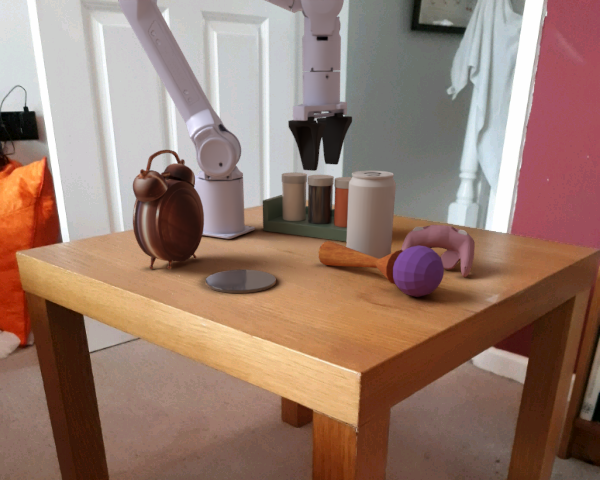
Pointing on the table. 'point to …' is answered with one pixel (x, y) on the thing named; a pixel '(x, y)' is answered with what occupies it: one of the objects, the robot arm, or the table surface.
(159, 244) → the alarm clock
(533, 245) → the table surface
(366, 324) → the table surface
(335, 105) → the robot arm
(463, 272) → the video game controller
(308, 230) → the spice rack
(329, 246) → the kendama
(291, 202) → the salt shaker
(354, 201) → the beverage can
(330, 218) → the pepper shaker
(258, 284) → the coaster
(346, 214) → the paprika shaker
